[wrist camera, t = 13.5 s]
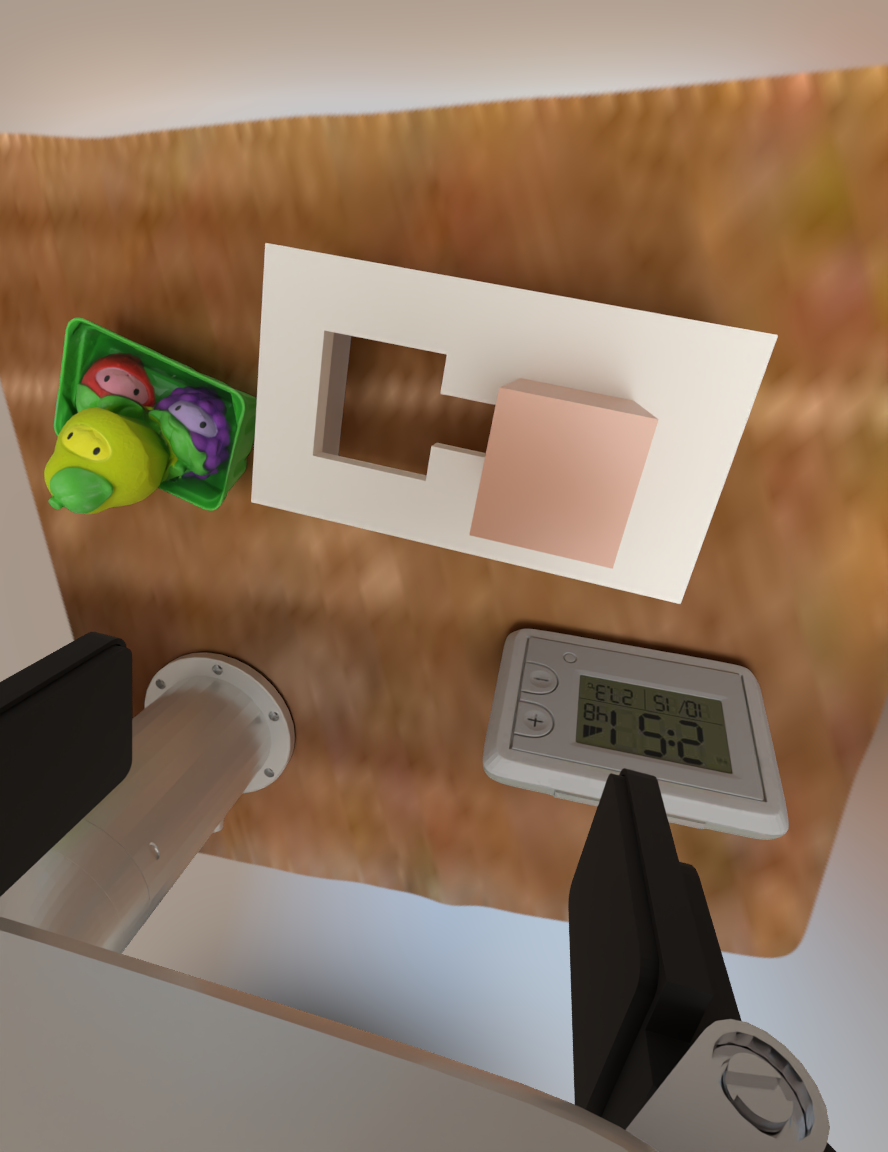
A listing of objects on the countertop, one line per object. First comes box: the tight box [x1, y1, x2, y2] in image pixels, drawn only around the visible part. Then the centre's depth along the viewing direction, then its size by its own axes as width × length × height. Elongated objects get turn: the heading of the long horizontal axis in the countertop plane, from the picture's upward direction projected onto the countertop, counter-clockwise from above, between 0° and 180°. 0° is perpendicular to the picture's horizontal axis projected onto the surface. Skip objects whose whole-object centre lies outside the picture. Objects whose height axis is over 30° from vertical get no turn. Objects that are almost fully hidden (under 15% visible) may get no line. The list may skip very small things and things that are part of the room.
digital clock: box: [483, 629, 789, 840], centre depth 35 cm, size 16×9×11 cm, turn 73°
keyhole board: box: [251, 243, 778, 604], centre depth 31 cm, size 12×22×9 cm, turn 80°
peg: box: [469, 378, 659, 569], centre depth 25 cm, size 5×5×11 cm
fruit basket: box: [44, 318, 257, 514], centre depth 35 cm, size 11×9×11 cm
